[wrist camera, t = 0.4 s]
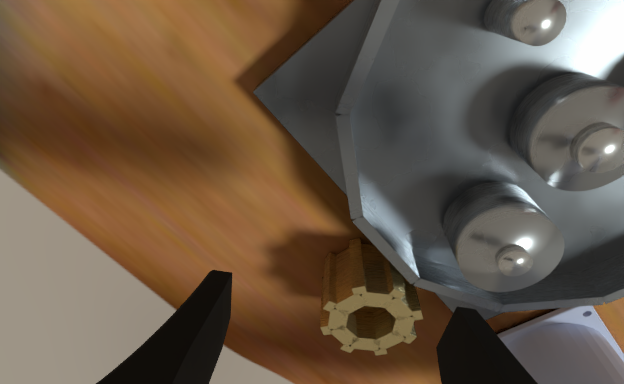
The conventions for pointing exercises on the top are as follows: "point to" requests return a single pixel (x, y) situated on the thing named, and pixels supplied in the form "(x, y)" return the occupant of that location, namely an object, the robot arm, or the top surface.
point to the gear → (367, 300)
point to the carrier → (473, 142)
